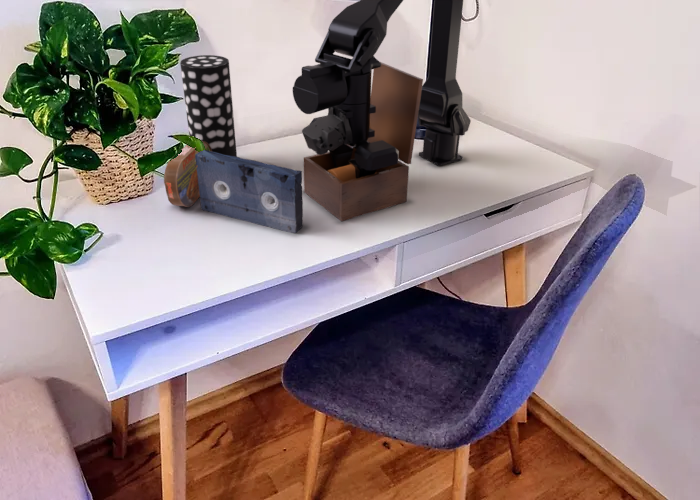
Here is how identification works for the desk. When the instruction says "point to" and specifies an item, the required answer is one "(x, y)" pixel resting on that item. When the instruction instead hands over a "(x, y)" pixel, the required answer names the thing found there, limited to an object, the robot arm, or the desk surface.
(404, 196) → the bread box
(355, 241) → the desk surface
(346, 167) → the bread
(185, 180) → the tin
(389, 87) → the bin lid
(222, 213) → the vhs cassette tape
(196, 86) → the white-spotted black cylinder
